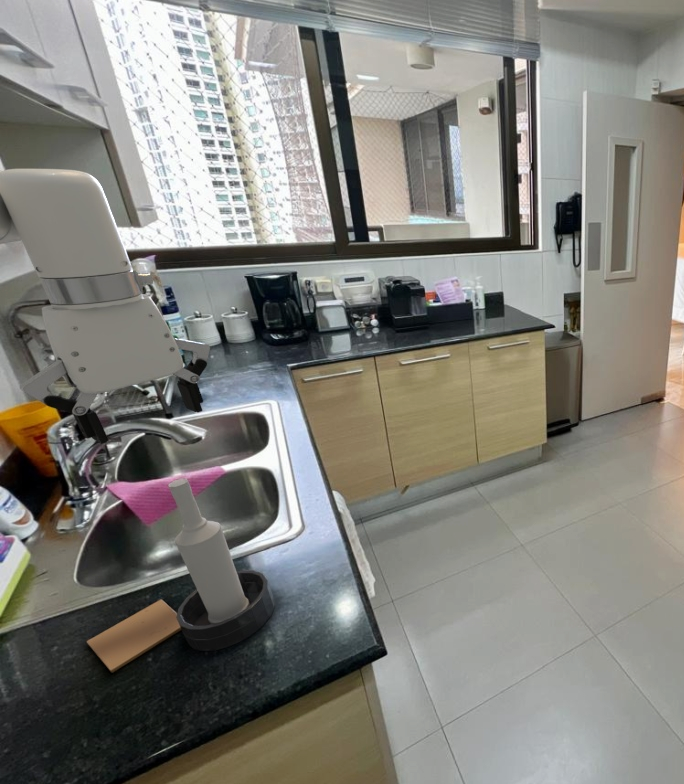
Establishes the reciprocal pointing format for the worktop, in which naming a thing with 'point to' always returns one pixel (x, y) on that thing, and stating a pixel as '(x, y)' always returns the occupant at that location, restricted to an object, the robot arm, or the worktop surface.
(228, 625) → the dark grey round tray
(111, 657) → the cork mat
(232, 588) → the bottle
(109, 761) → the worktop surface
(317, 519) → the worktop surface
